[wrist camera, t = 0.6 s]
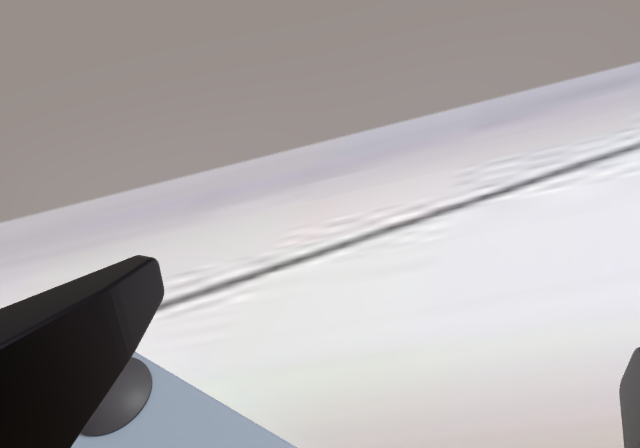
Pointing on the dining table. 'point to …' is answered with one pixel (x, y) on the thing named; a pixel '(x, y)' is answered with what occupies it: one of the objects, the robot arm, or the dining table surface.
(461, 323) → the dining table surface
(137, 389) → the flange plate
